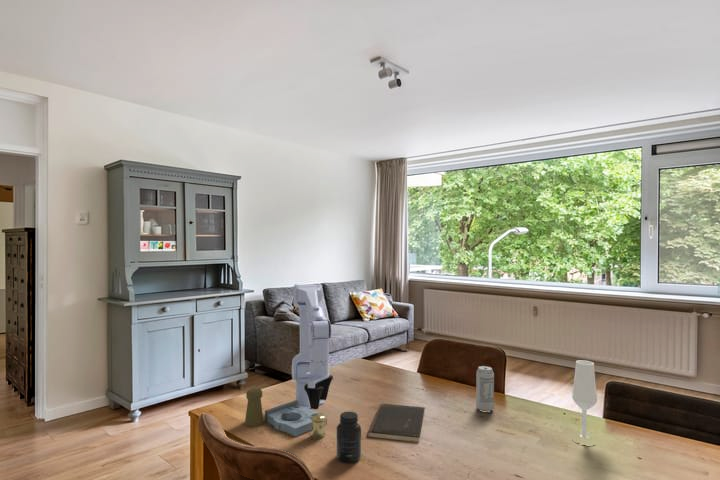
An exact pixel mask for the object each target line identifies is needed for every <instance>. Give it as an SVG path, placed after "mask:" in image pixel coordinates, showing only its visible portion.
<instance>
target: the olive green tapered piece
mask: <svg viewBox="0 0 720 480" xmlns="http://www.w3.org/2000/svg"><path fill="white" fill-rule="evenodd" d="M245 395H246V400H247V403H246V404H247V405H246V410H245V411H246V412H245V421H244V425H245V426H247V427H258V426H261V425H263V424H264V421H265V420H264V413H263V407H262V397H263V390H262V389H261V388H260V387H253V388H250V389H248V390H247V391H246V393H245Z"/></svg>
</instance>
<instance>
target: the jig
mask: <svg viewBox="0 0 720 480" xmlns="http://www.w3.org/2000/svg"><path fill="white" fill-rule="evenodd" d="M315 413H319V411H315V409H311V408H307V407H304V406H302V405H300V404H298V401H297V400H296V399H295V400H292V401H290V402H287V403H283V404H281V405H277V406H275V407H272V408H268V409H266V410H265V411H264V421H265V422H266V423H268V424H270V425H271V426H273V429H275V430H277V431H278V432H284V433H286V434H290V435H291V436H293V437H299V436H300V435H303V434H305V433H309V431H312V420H311V415H312V414H315ZM327 421H328V418H327V419H326V420H325V425H327V423H328V422H327Z"/></svg>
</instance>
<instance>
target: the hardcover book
mask: <svg viewBox="0 0 720 480" xmlns="http://www.w3.org/2000/svg"><path fill="white" fill-rule="evenodd" d="M425 410H426V407H425V406H424V407H423V406H414V405H413V406H411V405H404V404H403V405H402V404H393V403H380V404H379V406H378V409H377V411H376V413H375V415H374V417H373V420H372V421H371V424H370V427H369V429H368V430H367V432H366V436H367V438H369V437H370V438H377V439H388V440H398V441H405V442H414V443H419V439H420V437H421V433H422V427H423V422H424V421H423V420H424V414H425Z"/></svg>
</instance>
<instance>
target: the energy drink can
mask: <svg viewBox="0 0 720 480" xmlns="http://www.w3.org/2000/svg"><path fill="white" fill-rule="evenodd" d="M475 372H476V373H475V374H476V378H475V379H476V380H475V381H476V382H475V383H476V385H475V386H476V387H475V389H476V391H475V393H476V394H475V400H476V401H475V407H476V409H477V410H478V409H479V410H482V411H491V410H492V411H493V410H494V408H495V407H494V405H495V404H494V403H495V397H494V396H495V394H494V393H495V387H494V386H495V373H494V371H493V368H492V367H491V366H486V365H481V366H479V365H478V368H477V370H476V371H475ZM479 410H478V411H479Z"/></svg>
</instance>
